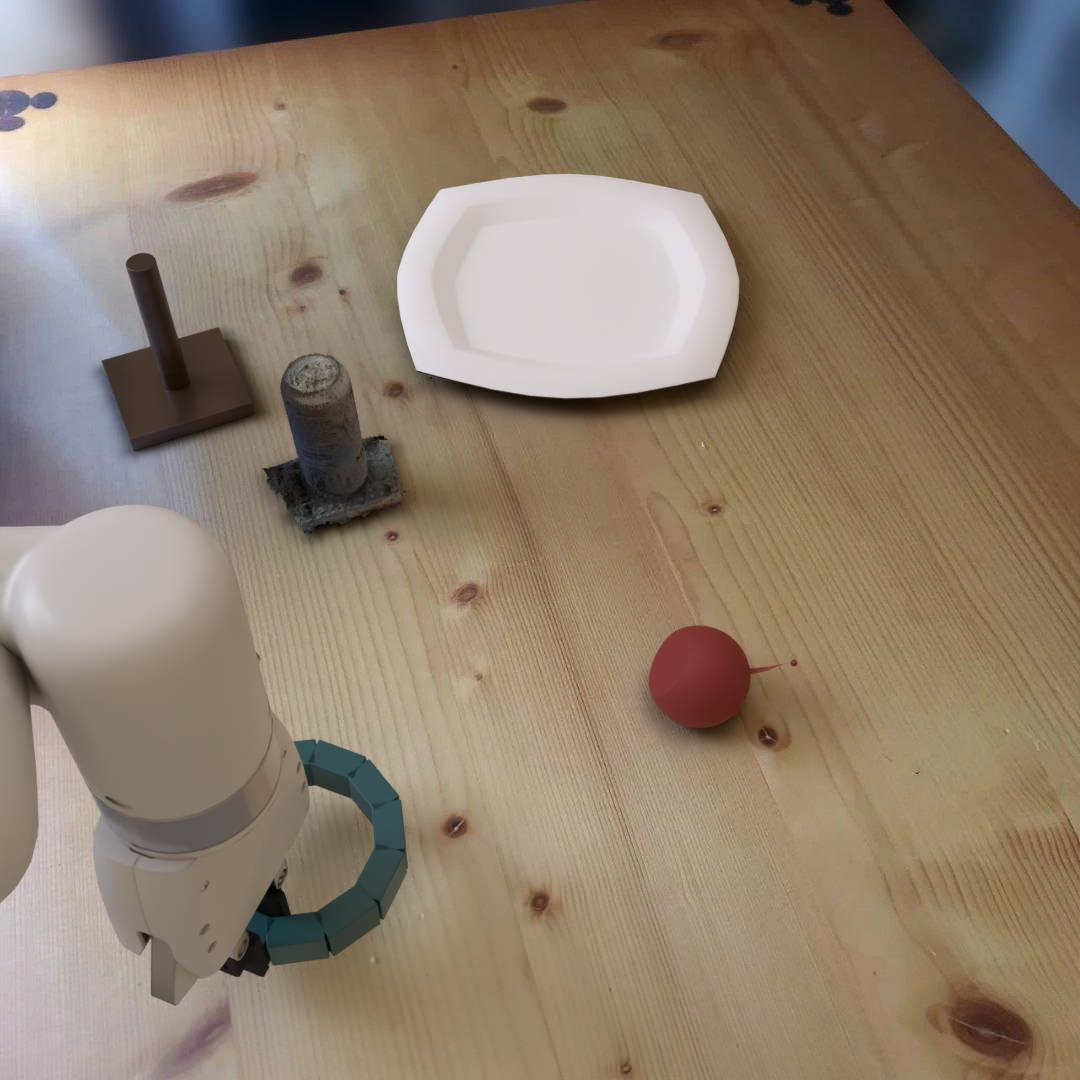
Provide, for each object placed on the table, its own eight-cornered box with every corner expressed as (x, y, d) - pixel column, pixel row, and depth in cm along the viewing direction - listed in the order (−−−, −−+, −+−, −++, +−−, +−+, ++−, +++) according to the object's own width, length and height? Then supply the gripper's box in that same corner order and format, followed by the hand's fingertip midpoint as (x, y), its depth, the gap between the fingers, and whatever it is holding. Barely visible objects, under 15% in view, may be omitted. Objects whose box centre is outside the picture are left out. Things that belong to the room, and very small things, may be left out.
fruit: (714, 760, 80) (797, 708, 74) (636, 726, 78) (715, 670, 72) (719, 677, 83) (799, 621, 78) (645, 642, 82) (721, 583, 76)
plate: (726, 195, 112) (729, 175, 111) (748, 420, 95) (751, 400, 94) (414, 189, 113) (413, 169, 111) (381, 411, 96) (378, 392, 94)
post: (133, 451, 93) (88, 321, 84) (105, 371, 98) (59, 240, 89) (255, 414, 95) (224, 283, 86) (221, 338, 101) (188, 207, 91)
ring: (345, 998, 65) (340, 980, 63) (144, 915, 68) (134, 895, 66) (441, 804, 72) (439, 782, 70) (255, 735, 74) (249, 713, 73)
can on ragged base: (308, 551, 87) (281, 425, 78) (261, 478, 91) (230, 350, 82) (427, 497, 90) (414, 371, 81) (376, 429, 94) (358, 301, 85)
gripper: (204, 586, 58) (263, 788, 72) (-15, 897, 49) (102, 1059, 63) (356, 638, 56) (385, 834, 71) (160, 970, 47) (239, 1119, 61)
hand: (252, 939), depth 67 cm, fingers closed on ring, 1 cm apart
